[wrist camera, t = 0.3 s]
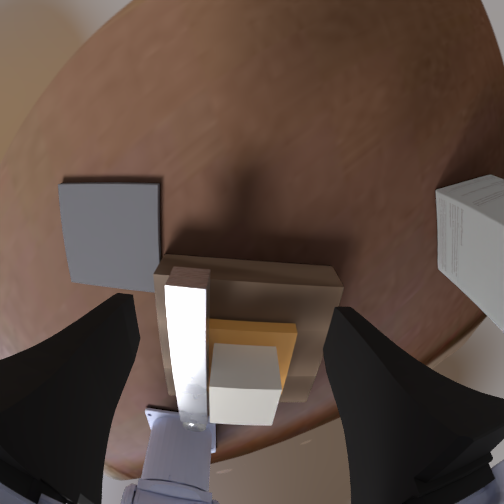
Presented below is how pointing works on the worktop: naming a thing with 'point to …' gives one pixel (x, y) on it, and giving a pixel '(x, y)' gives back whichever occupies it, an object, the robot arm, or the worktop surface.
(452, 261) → the supplement box
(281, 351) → the plug
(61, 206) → the mat
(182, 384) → the light grey long bar
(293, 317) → the socket block
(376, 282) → the worktop surface
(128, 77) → the worktop surface
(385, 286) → the worktop surface
